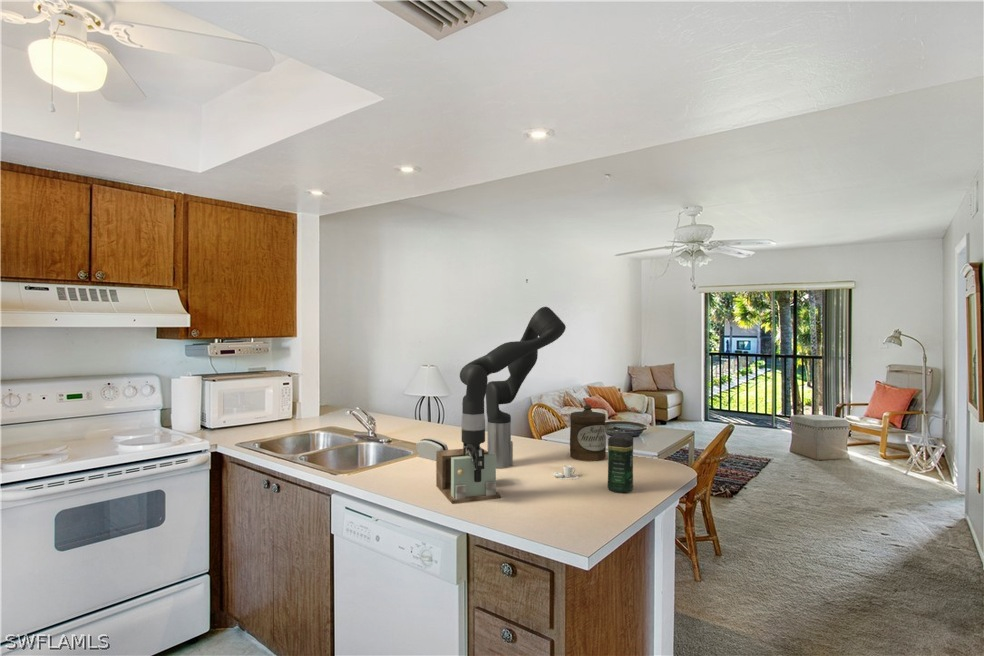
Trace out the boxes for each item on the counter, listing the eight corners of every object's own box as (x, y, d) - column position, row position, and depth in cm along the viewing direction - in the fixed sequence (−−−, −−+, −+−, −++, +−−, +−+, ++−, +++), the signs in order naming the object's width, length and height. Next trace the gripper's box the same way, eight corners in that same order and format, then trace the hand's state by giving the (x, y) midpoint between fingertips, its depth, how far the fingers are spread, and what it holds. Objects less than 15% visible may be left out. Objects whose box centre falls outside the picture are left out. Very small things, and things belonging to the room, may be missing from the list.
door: (492, 490, 170) (492, 453, 170) (497, 494, 166) (497, 456, 166) (451, 495, 165) (451, 457, 165) (454, 499, 161) (454, 460, 161)
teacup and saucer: (552, 479, 188) (552, 468, 188) (557, 473, 195) (557, 462, 195) (576, 481, 185) (576, 470, 185) (580, 476, 192) (580, 464, 192)
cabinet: (480, 481, 184) (480, 447, 184) (500, 497, 166) (500, 460, 166) (436, 486, 178) (436, 450, 178) (452, 503, 160) (452, 464, 160)
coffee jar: (629, 495, 169) (629, 437, 169) (605, 491, 172) (605, 435, 172) (635, 487, 177) (635, 432, 177) (612, 484, 181) (612, 430, 181)
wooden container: (582, 462, 210) (582, 408, 210) (563, 454, 223) (563, 403, 223) (613, 459, 216) (613, 406, 216) (592, 451, 229) (592, 401, 229)
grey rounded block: (454, 461, 213) (448, 439, 210) (447, 467, 209) (440, 445, 207) (426, 454, 223) (420, 433, 221) (419, 460, 220) (412, 439, 218)
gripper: (492, 430, 161) (492, 483, 161) (477, 422, 174) (477, 471, 174) (469, 432, 158) (468, 485, 158) (455, 424, 172) (455, 473, 171)
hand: (473, 478), depth 166 cm, fingers open, 8 cm apart
